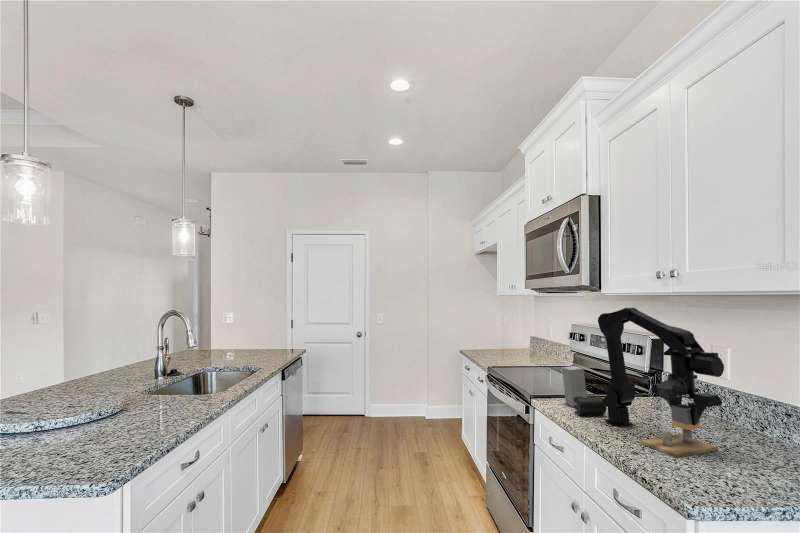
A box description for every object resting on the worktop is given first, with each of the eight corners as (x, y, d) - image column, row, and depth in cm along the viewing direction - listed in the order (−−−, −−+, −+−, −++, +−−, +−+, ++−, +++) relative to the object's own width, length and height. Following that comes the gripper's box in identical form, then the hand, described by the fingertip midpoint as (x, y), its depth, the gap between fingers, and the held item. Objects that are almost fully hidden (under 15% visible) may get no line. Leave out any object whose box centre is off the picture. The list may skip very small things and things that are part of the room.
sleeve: (684, 423, 128) (683, 403, 128) (700, 428, 123) (698, 408, 124) (672, 425, 127) (671, 405, 127) (687, 430, 122) (686, 409, 122)
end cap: (580, 418, 154) (579, 399, 155) (573, 412, 161) (572, 395, 162) (607, 417, 154) (606, 399, 154) (598, 412, 161) (597, 394, 161)
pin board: (640, 443, 127) (639, 428, 127) (679, 437, 131) (678, 423, 132) (675, 457, 115) (674, 441, 116) (717, 450, 120) (716, 435, 120)
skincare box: (588, 407, 167) (586, 368, 168) (571, 408, 167) (569, 369, 168) (580, 402, 175) (577, 365, 176) (563, 402, 175) (561, 365, 177)
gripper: (636, 368, 133) (639, 416, 132) (691, 379, 115) (695, 435, 114) (663, 365, 136) (666, 413, 135) (720, 376, 118) (725, 431, 117)
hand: (686, 422), depth 125 cm, fingers closed on sleeve, 5 cm apart
